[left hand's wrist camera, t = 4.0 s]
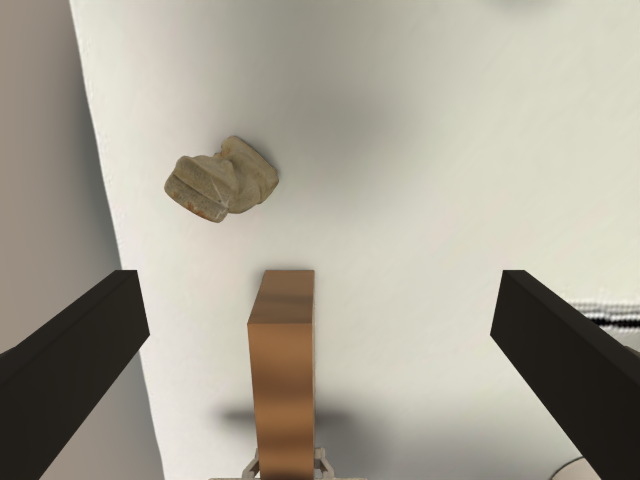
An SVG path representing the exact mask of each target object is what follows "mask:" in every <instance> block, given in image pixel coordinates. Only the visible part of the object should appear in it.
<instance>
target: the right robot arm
mask: <svg viewBox="0 0 640 480" xmlns="http://www.w3.org/2000/svg"><path fill="white" fill-rule="evenodd" d="M314 469H320V470H321V472H322V473H323V478H314V480H367V479H365V478H335V477H334V470H333V469H332V467H331V466H330V464H329V463H328V461H327V460H326V459H325V448H314ZM259 470H260V468H259V456H258V448H257V449H256V454H255V459H253V460H252V461H251V462H250V464H249V465H248V466H247V467H246V468H245V469H244V471H243V474H242V478H210V479H209V480H260V478H255V476H256V475H257V473H258V472H259ZM552 480H601V479H600V477H599V476H598V475H597V474H596V472H595V471H594V470H593V468H592V467H591V466H590V464H589V463H588V462H587V461H586V459H585V458H582V459H579V460H577V461H575V462H573V463H571V464H569V465H567V466H566V467H564V468H563V469H561V470H560V471H559V472H558V473H557V474H556V475H555V476H554V477H553V479H552Z"/></svg>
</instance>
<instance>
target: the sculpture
mask: <svg viewBox="0 0 640 480" xmlns="http://www.w3.org/2000/svg"><path fill="white" fill-rule="evenodd" d="M276 174H277V171H276V170H275V169H274V168H273V167H272V166H270V165H269V164H268V163H267V162H266V161H265V160H264V159H263V158H262V157H261V156H260V155H259V154H258V153H257V152H256V151H254V150H253V149H252V148H251V147H250V146H248V145H247V144H246V143H244V142H243V141H241V140H240V139H238V138H237V137H234V136H231V137H229V138H227V139H226V140H225V141H224V142H223V144H222V152H221V153H216V154H215V155H214V156H213V158H212V157H208V156H196V157H194V158H191V157H188V156H182V157H181V158H180V159H179V160H178V161H177V163H176V167H175V169H174V171H173V172H172V174H171V175H170V176H169V178H168V179H167V181H166V183H165V187H164V189H165V192H166V193H167V194H168V195H169V196H170V197H171V198H172V199H173V200H174V201H176V202H177V203H178V204H180V205H181V206H183V207H184V208H186V209H188V210H189V211H191V212H192V213H194V214H196V215H198V216H200V217H202V218H204V219H207V220H209V221H211V222H216V223H219V222H221V221H223V219H224V218H225V217H226V215H227V214H228V213H235V214H239V213H243V212H245V211H247V210H249V209H250V208H252V207H253V206H255V205H256V204H261V203H262V202H263V201H265V200H266V199H267V197H268V196H269V195H270V194H271V193H272V191H273V190H274V188H275V187H276V186H277V184H278V182H279V179H278V177H277V175H276Z"/></svg>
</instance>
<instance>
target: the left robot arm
mask: <svg viewBox="0 0 640 480" xmlns="http://www.w3.org/2000/svg"><path fill="white" fill-rule="evenodd" d="M149 336H150V332H149V328H148V323H147V318H146V313H145V308H144V303H143V298H142V293H141V288H140V283H139V278H138V273H137V270H115V271H114V272H112V273H111V274H110V275H108V276H107V277H106V278H105V279H103V280H102V281H101V282H99V283H98V284H97V285H95V286H94V287H93V288H91V289H90V290H89V291H87V292H86V293H85V294H84V295H82V296H81V297H80V298H78V299H77V300H76V301H74V302H73V303H72V304H70V305H69V306H68V307H67V308H65V309H64V310H63V311H61V312H60V313H59V314H57V315H56V316H55V317H53V318H52V319H51V320H50V321H48V322H47V323H46V324H44V325H43V326H42V327H40V328H39V329H38V330H36V331H35V332H34V333H33V334H31V335H30V336H29V337H27V338H26V339H25V340H23V341H22V342H21V343H19V344H18V345H17V346H16V347H13V348H11V349H9V350H7V351H5V352H4V353H2V354H0V480H39V479H40V477H41V476H42V475H43V473H44V472H45V471H46V470H47V468H48V467H49V466H50V464H51V463H52V462H53V461H54V459H55V458H56V457H57V455H58V454H59V453H60V451H61V450H62V449H63V448H64V446H65V445H66V444H67V442H68V441H69V440H70V438H71V437H72V436H73V434H74V433H75V432H76V431H77V429H78V428H79V427H80V425H81V424H82V423H83V421H84V420H85V419H86V418H87V416H88V415H89V414H90V412H91V411H92V410H93V408H94V407H95V406H96V405H97V403H98V402H99V401H100V399H101V398H102V397H103V395H104V394H105V393H106V392H107V390H108V389H109V388H110V386H111V385H112V384H113V382H114V381H115V380H116V379H117V377H118V376H119V375H120V373H121V372H122V371H123V369H124V368H125V367H126V366H127V364H128V363H129V362H130V360H131V359H132V358H133V356H134V355H135V354H136V353H137V351H138V350H139V349H140V347H141V346H142V345H143V343H144V342H145V341H146V340H147V338H148V337H149ZM490 336H491V337H492V338H493V340H494V341H495V342H496V343H497V345H498V346H499V347H500V349H501V350H502V351H503V353H504V354H505V355H506V356H507V358H508V359H509V360H510V362H511V363H512V364H513V366H514V367H515V368H516V369H517V371H518V372H519V373H520V375H521V376H522V377H523V379H524V380H525V381H526V382H527V384H528V385H529V386H530V388H531V389H532V390H533V392H534V393H535V394H536V395H537V397H538V398H539V399H540V401H541V402H542V403H543V405H544V406H545V407H546V408H547V410H548V411H549V412H550V414H551V415H552V416H553V418H554V419H555V420H556V421H557V423H558V424H559V425H560V427H561V428H562V429H563V431H564V432H565V433H566V435H567V436H568V437H569V438H570V440H571V441H572V442H573V444H574V445H575V446H576V448H577V449H578V450H579V451H580V453H581V454H582V455H583V457H584V458H585V459H586V461H587V462H588V463H589V464H590V466H591V467H592V468H593V470H594V471H595V472H596V474H597V475H598V476H599V477H600V479H601V480H640V353H639V352H638V351H636V350H634V349H632V348H630V347H628V346H623V345H622V344H621V343H619V342H618V341H617V340H615V339H614V338H613V337H611V336H610V335H609V334H607V333H606V332H605V331H604V330H602V329H601V328H600V327H598V326H597V325H596V324H594V323H593V322H592V321H590V320H589V319H588V318H587V317H585V316H584V315H583V314H581V313H580V312H579V311H577V310H576V309H575V308H573V307H572V306H571V305H570V304H568V303H567V302H566V301H564V300H563V299H562V298H560V297H559V296H558V295H556V294H555V293H554V292H553V291H551V290H550V289H549V288H547V287H546V286H545V285H543V284H542V283H541V282H539V281H538V280H537V279H536V278H534V277H533V276H532V275H530V274H529V273H528V272H526V271H525V270H503V273H502V278H501V283H500V288H499V293H498V298H497V303H496V308H495V313H494V318H493V323H492V328H491V332H490Z"/></svg>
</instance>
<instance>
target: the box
mask: <svg viewBox="0 0 640 480" xmlns="http://www.w3.org/2000/svg"><path fill="white" fill-rule="evenodd" d="M247 327H248V339H249V350H250V362H251V374H252V386H253V397H254V409H255V421H256V433H257V444H258V456H259V468H260V480H314V478H315V469H314V448H315V299H314V271H265V274H264V277H263V280H262V283H261V286H260V289H259V292H258V294H257V297H256V300H255V303H254V306H253V309H252V312H251V314H250V317H249V320H248V323H247Z"/></svg>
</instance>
